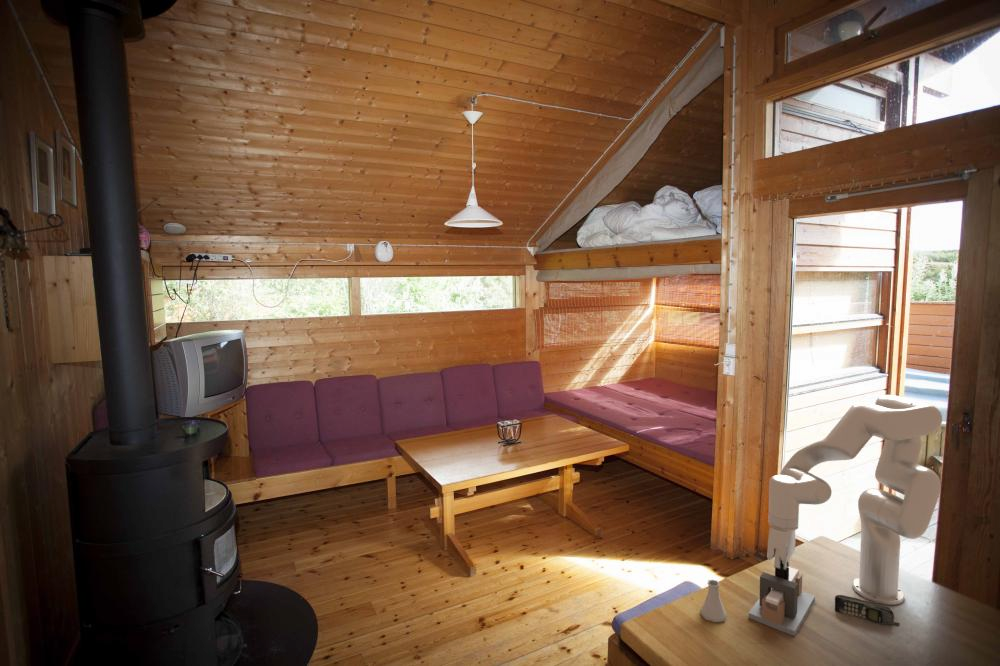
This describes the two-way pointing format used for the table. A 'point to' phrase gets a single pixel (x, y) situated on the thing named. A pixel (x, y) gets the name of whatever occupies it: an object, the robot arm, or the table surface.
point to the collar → (782, 585)
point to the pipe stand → (783, 607)
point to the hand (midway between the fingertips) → (781, 579)
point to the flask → (713, 604)
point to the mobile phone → (864, 610)
